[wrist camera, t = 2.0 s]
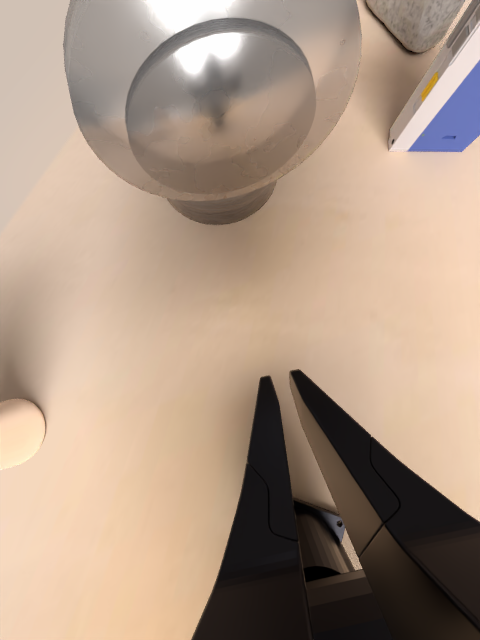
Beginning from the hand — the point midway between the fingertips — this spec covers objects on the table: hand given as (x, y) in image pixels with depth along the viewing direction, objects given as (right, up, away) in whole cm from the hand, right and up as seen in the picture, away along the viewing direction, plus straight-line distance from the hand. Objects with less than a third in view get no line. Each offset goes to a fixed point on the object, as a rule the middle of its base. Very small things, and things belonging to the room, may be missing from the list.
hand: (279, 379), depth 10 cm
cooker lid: (-3, +13, +3) cm, 14 cm away
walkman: (+19, +22, +17) cm, 33 cm away
